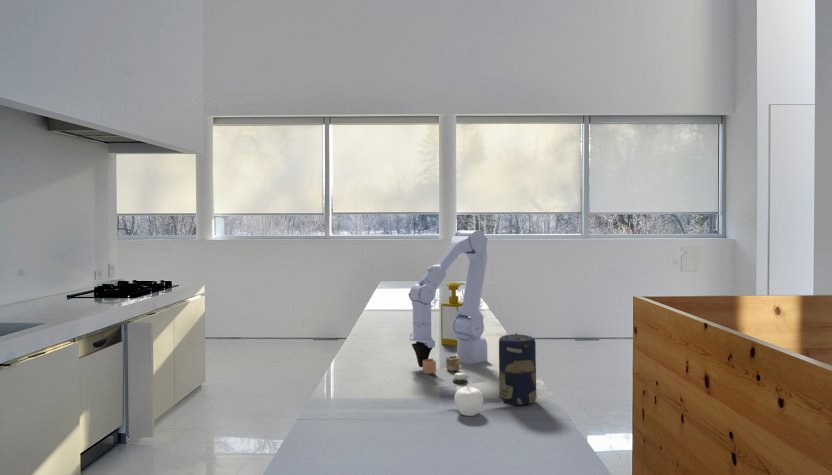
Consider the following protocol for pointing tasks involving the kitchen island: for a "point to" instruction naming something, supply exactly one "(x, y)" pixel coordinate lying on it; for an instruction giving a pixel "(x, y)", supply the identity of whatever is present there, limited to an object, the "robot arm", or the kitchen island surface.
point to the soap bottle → (450, 316)
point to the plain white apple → (469, 400)
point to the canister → (517, 369)
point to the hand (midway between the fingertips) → (422, 366)
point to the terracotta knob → (429, 366)
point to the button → (459, 376)
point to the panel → (447, 377)
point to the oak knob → (452, 363)
